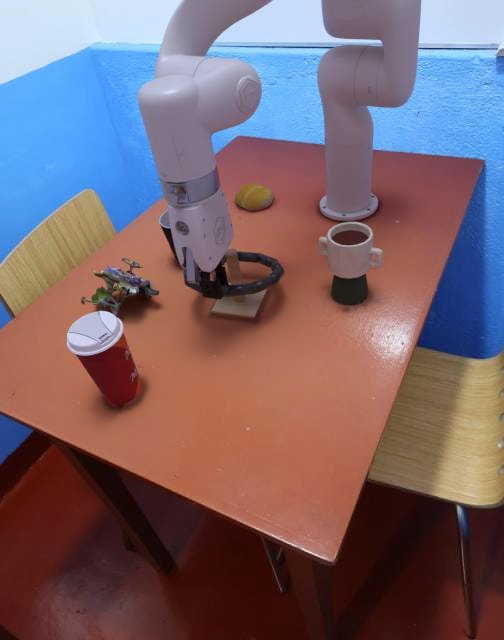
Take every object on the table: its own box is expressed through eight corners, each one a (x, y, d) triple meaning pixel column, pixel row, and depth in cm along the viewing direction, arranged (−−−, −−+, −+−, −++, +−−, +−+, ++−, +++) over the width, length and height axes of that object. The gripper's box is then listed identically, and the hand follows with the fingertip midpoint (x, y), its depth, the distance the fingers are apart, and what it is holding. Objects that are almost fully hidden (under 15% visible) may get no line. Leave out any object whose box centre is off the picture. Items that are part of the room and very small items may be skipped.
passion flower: (151, 317, 93) (172, 279, 85) (113, 347, 85) (133, 309, 77) (108, 280, 93) (125, 239, 85) (67, 306, 85) (82, 264, 77)
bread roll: (256, 215, 106) (253, 199, 103) (230, 204, 111) (227, 188, 109) (281, 200, 110) (280, 184, 107) (255, 190, 115) (253, 174, 112)
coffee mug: (206, 272, 93) (195, 228, 86) (165, 271, 95) (152, 228, 88) (221, 239, 101) (212, 196, 94) (183, 238, 103) (172, 197, 96)
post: (228, 287, 88) (217, 236, 81) (268, 291, 86) (261, 239, 78) (212, 315, 83) (199, 264, 75) (255, 321, 80) (245, 268, 73)
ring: (209, 256, 89) (208, 247, 88) (294, 264, 84) (294, 254, 83) (166, 291, 75) (164, 281, 74) (264, 303, 70) (264, 292, 69)
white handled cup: (387, 293, 81) (392, 228, 72) (371, 318, 77) (375, 253, 68) (329, 278, 86) (327, 216, 77) (312, 301, 82) (308, 238, 73)
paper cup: (159, 388, 72) (131, 322, 63) (119, 422, 68) (82, 357, 59) (129, 366, 76) (99, 301, 67) (90, 396, 73) (52, 332, 63)
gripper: (192, 216, 54) (220, 330, 67) (237, 156, 65) (254, 264, 77) (136, 212, 57) (173, 323, 69) (189, 156, 67) (213, 260, 80)
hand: (216, 291), depth 73 cm, fingers closed on ring, 1 cm apart
